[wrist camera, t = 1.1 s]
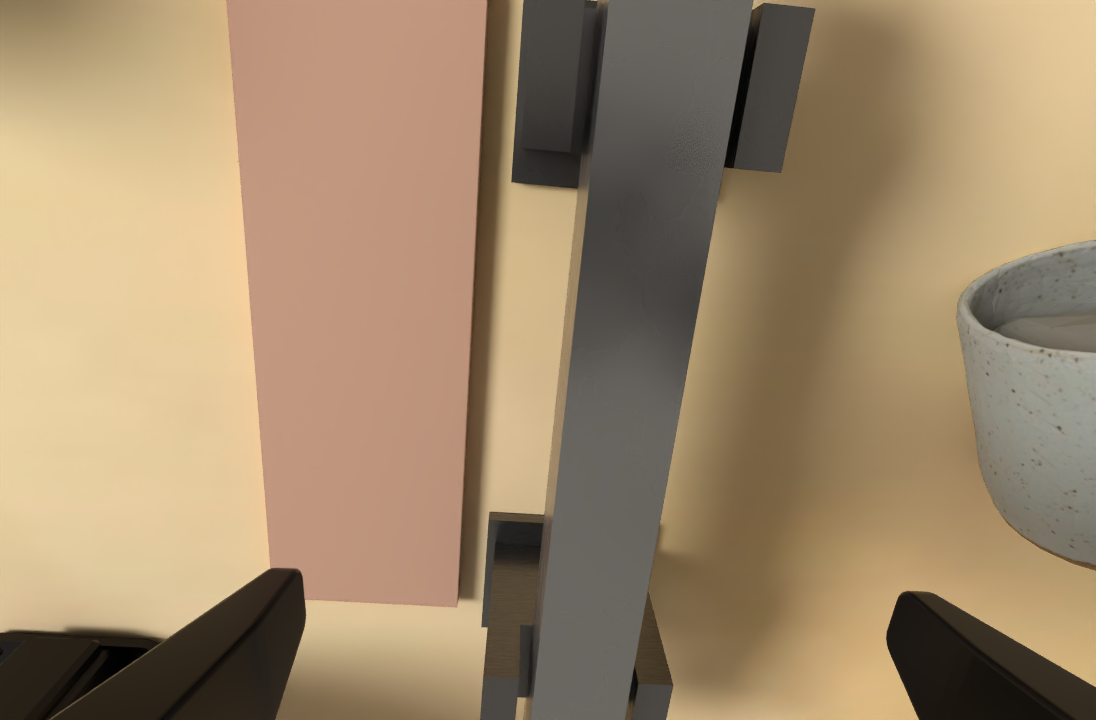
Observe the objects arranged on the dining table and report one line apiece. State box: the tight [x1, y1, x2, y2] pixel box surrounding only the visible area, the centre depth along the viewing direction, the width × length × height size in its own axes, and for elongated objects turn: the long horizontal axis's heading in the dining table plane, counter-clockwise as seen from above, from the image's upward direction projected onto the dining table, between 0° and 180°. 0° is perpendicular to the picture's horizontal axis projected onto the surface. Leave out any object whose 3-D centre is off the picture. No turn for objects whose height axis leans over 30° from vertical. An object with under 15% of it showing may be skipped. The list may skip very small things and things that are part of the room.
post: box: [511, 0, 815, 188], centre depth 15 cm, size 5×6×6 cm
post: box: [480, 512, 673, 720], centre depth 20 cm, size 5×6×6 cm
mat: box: [227, 0, 489, 607], centre depth 19 cm, size 24×7×1 cm, turn 175°
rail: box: [523, 0, 753, 720], centre depth 15 cm, size 26×3×3 cm, turn 175°
